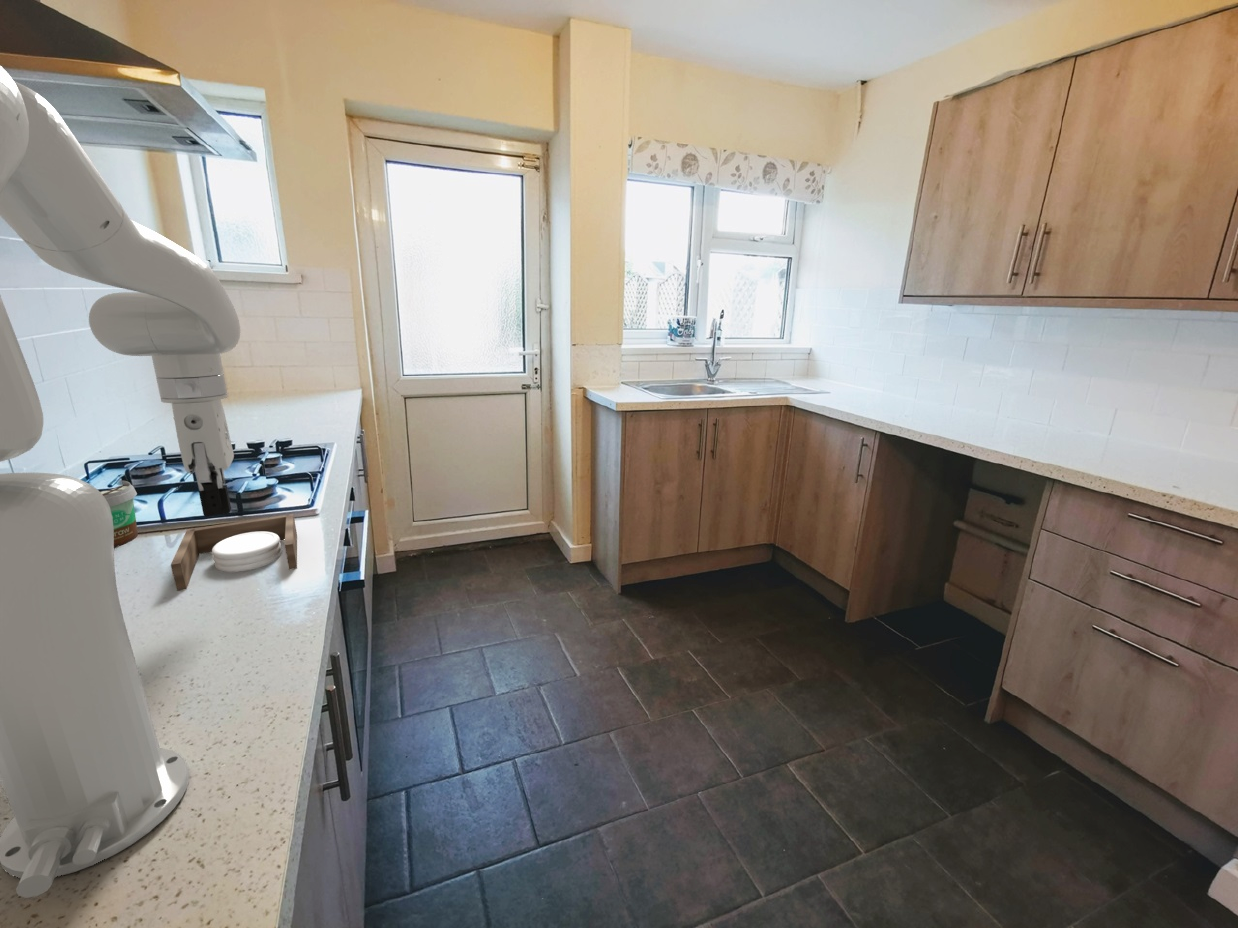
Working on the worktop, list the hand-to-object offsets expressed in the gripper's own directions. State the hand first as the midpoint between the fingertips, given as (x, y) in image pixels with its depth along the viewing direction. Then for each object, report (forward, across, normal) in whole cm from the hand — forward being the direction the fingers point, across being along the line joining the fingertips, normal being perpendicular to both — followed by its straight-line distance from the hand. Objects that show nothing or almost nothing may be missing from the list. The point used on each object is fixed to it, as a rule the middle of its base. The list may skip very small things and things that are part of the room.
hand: (217, 513), depth 82 cm
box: (+13, +13, 0) cm, 19 cm away
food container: (+13, +33, +21) cm, 41 cm away
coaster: (+13, +14, -1) cm, 19 cm away
